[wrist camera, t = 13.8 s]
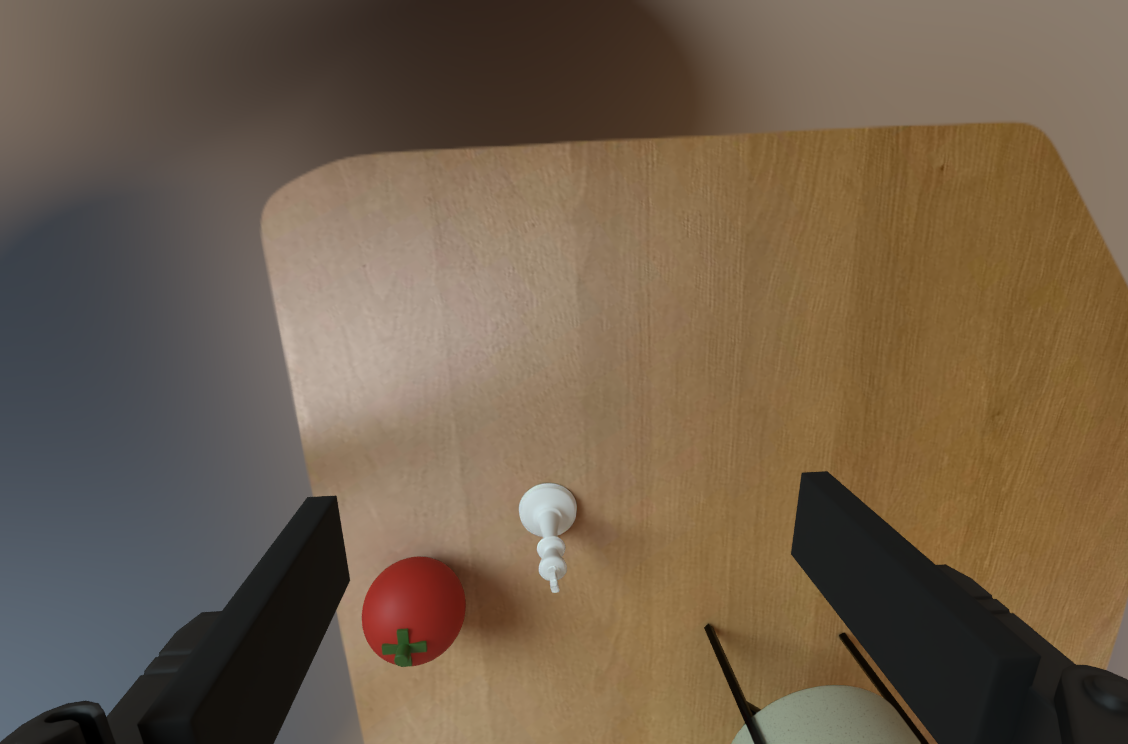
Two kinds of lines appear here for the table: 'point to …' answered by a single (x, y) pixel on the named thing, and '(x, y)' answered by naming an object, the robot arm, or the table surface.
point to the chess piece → (549, 526)
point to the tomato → (413, 611)
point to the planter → (822, 711)
